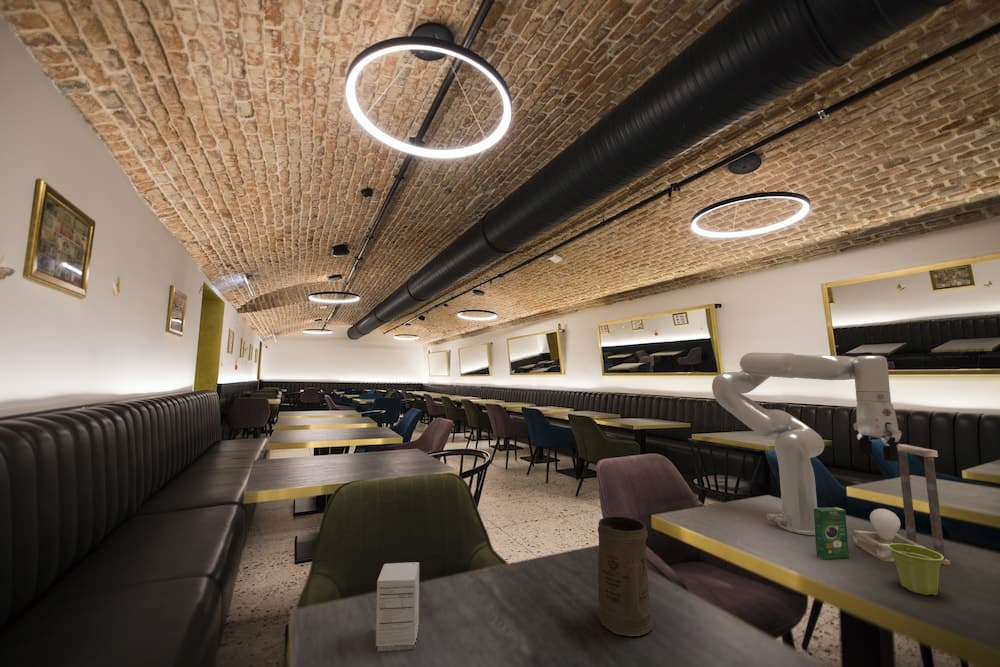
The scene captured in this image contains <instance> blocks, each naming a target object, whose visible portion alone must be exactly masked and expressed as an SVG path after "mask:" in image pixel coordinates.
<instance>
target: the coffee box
mask: <svg viewBox="0 0 1000 667" xmlns="http://www.w3.org/2000/svg"><path fill="white" fill-rule="evenodd" d="M846 514H847V513H846V509H844V508H841V507H837V506H834V507H831V506H830V507H817V508H814V522H815V535H814V536H815V538H814V539H815V551H816V557H818V558H820V559H822V560H834V559H835V560H836V559H837V560H839V559H849V558H850V554H849V543H848V542H849V541H848V529H847V527H848V526H847V517H846Z"/></svg>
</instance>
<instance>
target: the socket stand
mask: <svg viewBox="0 0 1000 667" xmlns="http://www.w3.org/2000/svg"><path fill="white" fill-rule="evenodd" d="M898 444H899V446H898V447H897V450H898V463H899V464H898V465H899V474H900V475H899V476H900V485H901V493H902V501H903V502H902V503H903V513H904V523H905V530H906V531H905V532H906V537H905V536H904V535H903V536H902V535H900V534H898V533H897V532H896V533H895V537H894V539H893V543H901V544H909V545H915V546H919V547H923V548H926V549H928V548H927V547H925V546H924V545H921V544H919V543H917V534H916V532H917V531H916V524H915V515H914V514H915V513H914V512H915V511H914V504H913V496H912V486H911V478H910V469H909V457H908V454H911V455H915V456H916V455H917V456H920V457H923V464H924V465H923V466H924V473H925V474H924V476H925V481H926V482H925V483H926V491H927V501H928V502H927V503H928V510H929V519H930V527H931V528H930V529H931V538H932V545H933V547H932V548H933V551H935V552H938V553H940V554H941V555H943V556H944V560H942V562H941V564H944V565H945V566H951V560H948V559H946V555H945V554H946V553H945V546H944V539H943V538H944V536H943V527H942V519H941V510H940V503H939V502H940V501H939V493H938V492H939V491H938V485H937V474H936V466H935V458H938V457H939V454H938V450H936V449H935V450H934V449H929V448H924V447H920V446H915V445H910V444H905V443H904V444H903V443H898ZM852 536H853V539H852V540H853V545H854V546H856V547H857V546H858V547H857V548H859V547H860V548H859V549H861V550H862V551H864V552H866V553H868V554H869V555H871V556H873V557H875V558H876V559H878V560H879V559H880V560H879V561H881V560H882V561H881V562H894V563H895V561H894V557H893V555H892V554H891V551H890V549H889V548H888V544H882V543H881V539H880V536H879V534H878V531H871V530H870V531H869V530H852Z"/></svg>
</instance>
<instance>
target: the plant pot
mask: <svg viewBox="0 0 1000 667" xmlns="http://www.w3.org/2000/svg"><path fill="white" fill-rule="evenodd" d="M888 548H889V549H890V551H891V554H892V555H893V557H894V561H895V562H894V565H895V567H896V572H897V575H898V579H899V583H900V586H902V588H906V589H907V590H908V591H910V592H912V593H917V594H918V595H919V594H920V595H924V596H929V595H932V596H937V595H938V593H939V582H940V581H939V579H940V568H941V562H942V560H944V556H943V555H941V554H940V553H938V552H935V551H934V549H933V550H932V549H929V548H927V547H926V548H927V549H926V548H923V547H919V546H915V545H909V544H901V543H891V544H888Z"/></svg>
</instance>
